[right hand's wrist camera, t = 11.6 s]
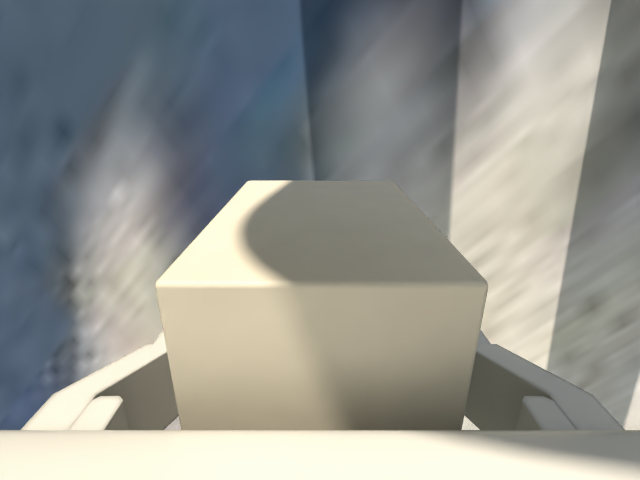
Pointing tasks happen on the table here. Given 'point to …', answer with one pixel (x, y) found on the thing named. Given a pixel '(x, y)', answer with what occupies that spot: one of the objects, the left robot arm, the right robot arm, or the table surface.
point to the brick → (321, 313)
